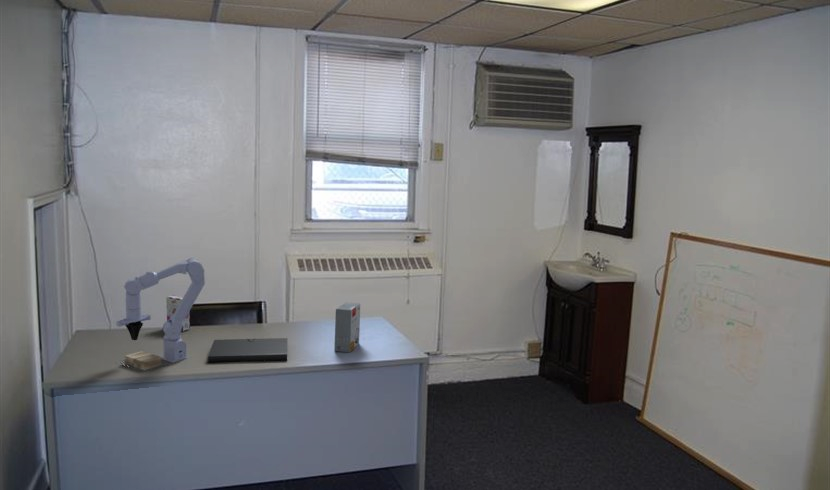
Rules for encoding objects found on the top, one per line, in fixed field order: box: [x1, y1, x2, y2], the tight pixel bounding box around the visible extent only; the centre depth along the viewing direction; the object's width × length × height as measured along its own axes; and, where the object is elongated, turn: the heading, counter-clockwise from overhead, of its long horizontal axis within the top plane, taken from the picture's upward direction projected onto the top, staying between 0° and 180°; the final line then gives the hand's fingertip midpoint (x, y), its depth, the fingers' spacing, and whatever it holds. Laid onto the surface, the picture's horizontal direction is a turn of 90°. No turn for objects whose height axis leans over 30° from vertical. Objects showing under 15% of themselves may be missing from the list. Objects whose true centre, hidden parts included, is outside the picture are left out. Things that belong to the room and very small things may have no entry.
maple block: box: [124, 350, 163, 370], centre depth 273 cm, size 4×8×13 cm
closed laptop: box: [207, 337, 288, 364], centre depth 292 cm, size 33×4×24 cm
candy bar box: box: [166, 294, 191, 333], centre depth 325 cm, size 11×5×16 cm, turn 62°
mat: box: [120, 359, 169, 374], centre depth 274 cm, size 20×12×1 cm, turn 57°
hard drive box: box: [333, 301, 361, 353], centre depth 305 cm, size 16×8×20 cm, turn 168°
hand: (134, 339), depth 274 cm, fingers closed
